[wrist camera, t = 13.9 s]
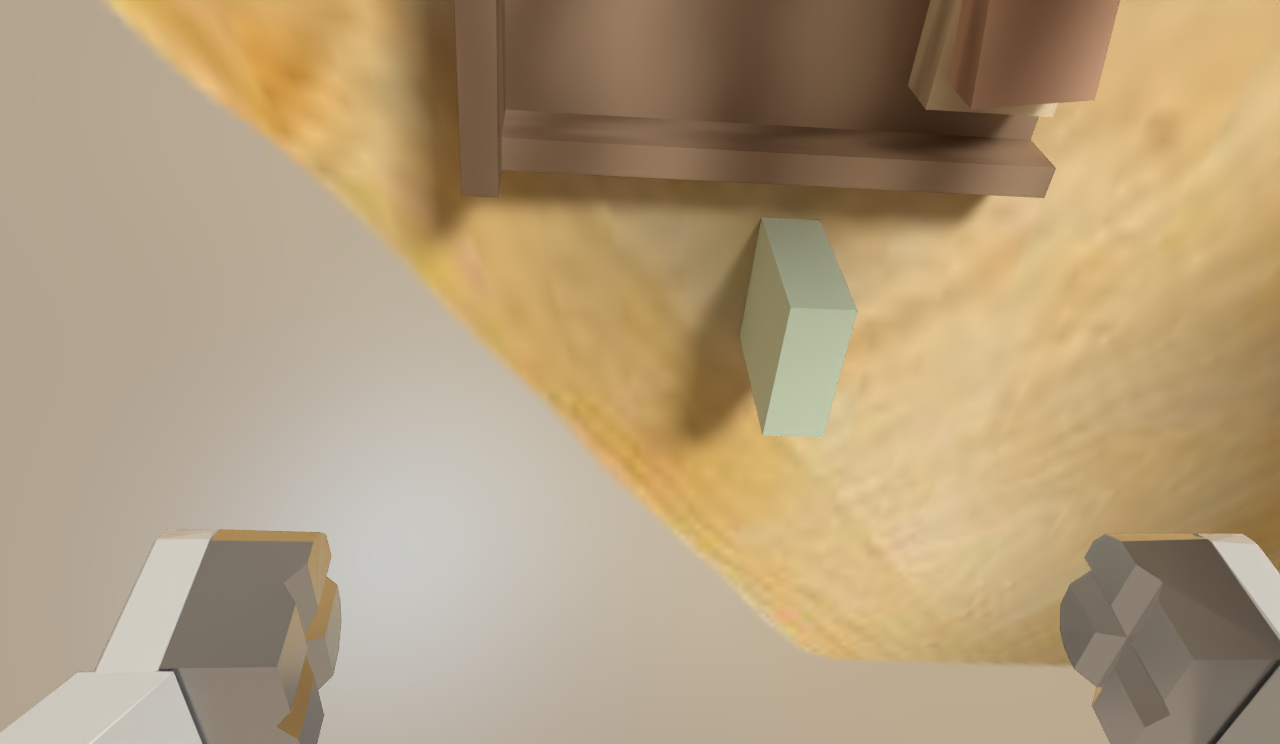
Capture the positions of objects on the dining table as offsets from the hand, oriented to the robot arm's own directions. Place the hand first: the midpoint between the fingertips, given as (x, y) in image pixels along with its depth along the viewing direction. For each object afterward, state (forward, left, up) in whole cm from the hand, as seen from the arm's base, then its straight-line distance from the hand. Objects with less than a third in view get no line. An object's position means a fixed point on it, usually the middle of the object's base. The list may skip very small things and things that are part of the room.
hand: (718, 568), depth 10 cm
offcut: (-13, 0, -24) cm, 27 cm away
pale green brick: (-8, +13, -27) cm, 31 cm away
